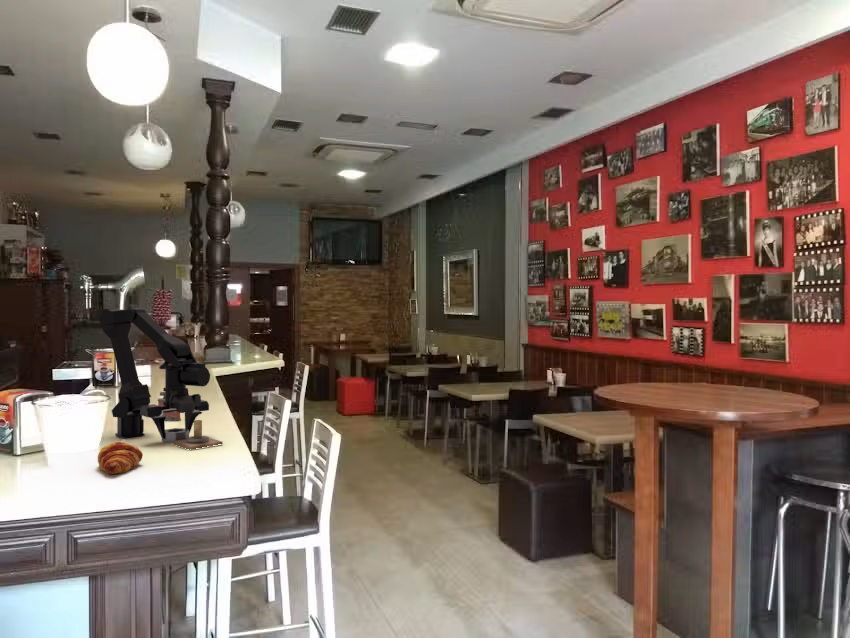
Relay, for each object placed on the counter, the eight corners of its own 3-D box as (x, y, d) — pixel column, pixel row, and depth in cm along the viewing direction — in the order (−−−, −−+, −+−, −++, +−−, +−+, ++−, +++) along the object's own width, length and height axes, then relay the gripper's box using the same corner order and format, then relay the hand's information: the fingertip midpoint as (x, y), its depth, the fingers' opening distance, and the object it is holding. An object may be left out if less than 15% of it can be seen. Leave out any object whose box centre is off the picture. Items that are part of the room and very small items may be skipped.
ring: (169, 444, 186) (169, 433, 185) (158, 440, 190) (158, 430, 190) (192, 440, 191) (192, 430, 190) (181, 437, 195) (181, 427, 195)
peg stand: (189, 450, 178) (189, 425, 178) (173, 444, 185) (173, 420, 185) (222, 445, 185) (222, 420, 185) (205, 439, 192) (205, 416, 192)
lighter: (182, 419, 224) (182, 391, 224) (177, 421, 221) (178, 392, 220) (160, 419, 225) (160, 390, 225) (155, 420, 221) (155, 392, 221)
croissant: (113, 471, 169) (97, 445, 168) (149, 451, 172) (134, 425, 171) (101, 492, 149) (83, 462, 148) (142, 469, 152) (125, 440, 151)
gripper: (156, 390, 178) (155, 446, 178) (218, 384, 191) (218, 436, 192) (139, 386, 185) (139, 440, 186) (200, 381, 199) (200, 431, 199)
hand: (175, 437), depth 190 cm, fingers closed on ring, 7 cm apart
